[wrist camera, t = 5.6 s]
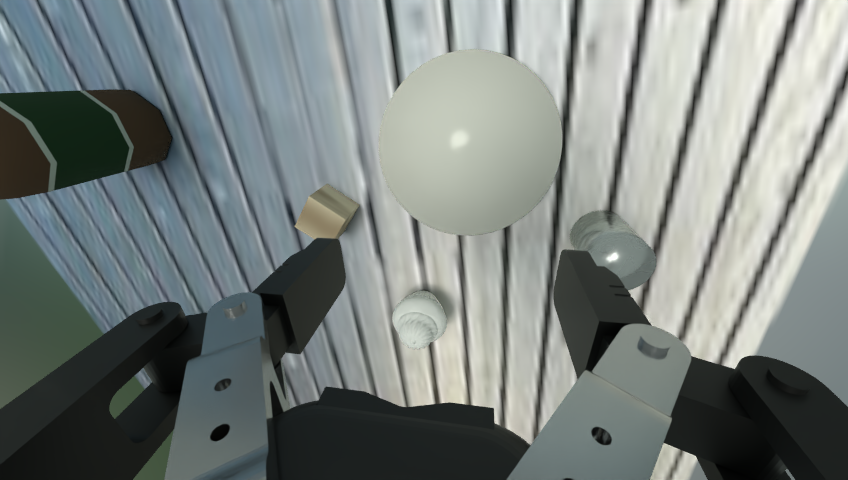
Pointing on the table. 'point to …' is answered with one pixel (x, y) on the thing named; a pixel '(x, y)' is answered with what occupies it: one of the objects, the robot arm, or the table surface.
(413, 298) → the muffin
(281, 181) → the table surface
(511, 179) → the white bowl
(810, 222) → the table surface
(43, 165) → the beer bottle
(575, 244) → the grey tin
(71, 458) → the robot arm
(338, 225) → the brass block
